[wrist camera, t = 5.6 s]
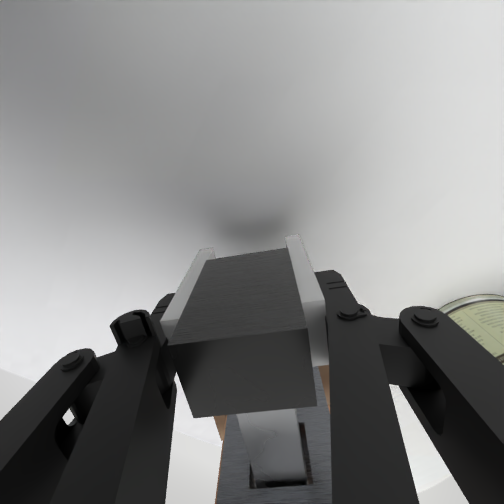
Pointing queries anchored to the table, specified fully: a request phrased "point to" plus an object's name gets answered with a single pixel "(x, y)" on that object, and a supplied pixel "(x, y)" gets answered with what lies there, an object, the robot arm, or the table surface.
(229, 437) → the bearing blocks
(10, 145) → the table surface
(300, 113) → the table surface
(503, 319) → the coffee can
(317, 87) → the table surface
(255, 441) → the shaft
